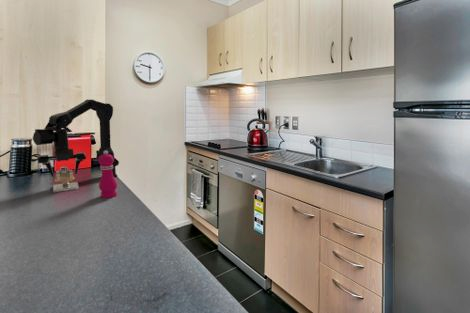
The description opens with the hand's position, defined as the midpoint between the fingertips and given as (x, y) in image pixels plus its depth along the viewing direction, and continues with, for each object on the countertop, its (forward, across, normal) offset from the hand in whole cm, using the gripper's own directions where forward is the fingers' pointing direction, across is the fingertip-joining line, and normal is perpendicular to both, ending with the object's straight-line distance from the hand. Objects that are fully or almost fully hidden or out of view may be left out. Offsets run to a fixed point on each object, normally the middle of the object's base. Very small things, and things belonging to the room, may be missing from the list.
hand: (64, 175), depth 131 cm
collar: (+1, 0, 0) cm, 1 cm away
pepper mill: (+6, +16, -23) cm, 28 cm away
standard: (+6, 0, 0) cm, 6 cm away
